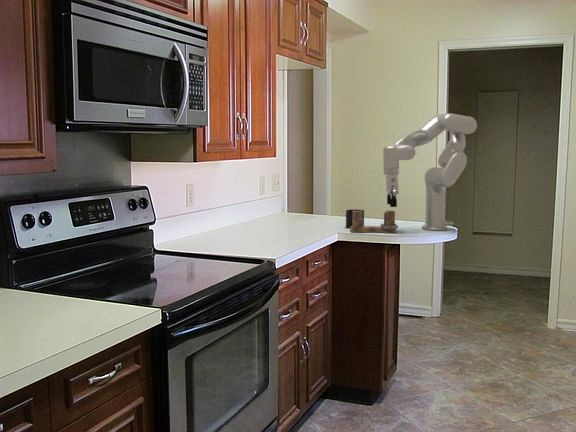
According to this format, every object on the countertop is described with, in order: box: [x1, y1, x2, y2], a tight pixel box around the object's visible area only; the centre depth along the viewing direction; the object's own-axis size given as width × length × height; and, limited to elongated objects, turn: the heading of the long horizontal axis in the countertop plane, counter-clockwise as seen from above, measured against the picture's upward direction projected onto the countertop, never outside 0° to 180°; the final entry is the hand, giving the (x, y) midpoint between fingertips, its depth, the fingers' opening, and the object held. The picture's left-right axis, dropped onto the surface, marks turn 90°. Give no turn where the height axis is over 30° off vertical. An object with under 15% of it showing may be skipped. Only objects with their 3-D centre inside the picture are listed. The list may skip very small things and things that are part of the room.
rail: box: [349, 211, 399, 234], centre depth 310 cm, size 23×7×10 cm, turn 89°
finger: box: [383, 210, 396, 226], centre depth 310 cm, size 5×4×8 cm
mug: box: [345, 208, 365, 229], centre depth 325 cm, size 9×12×9 cm
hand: (391, 205), depth 309 cm, fingers open, 9 cm apart
